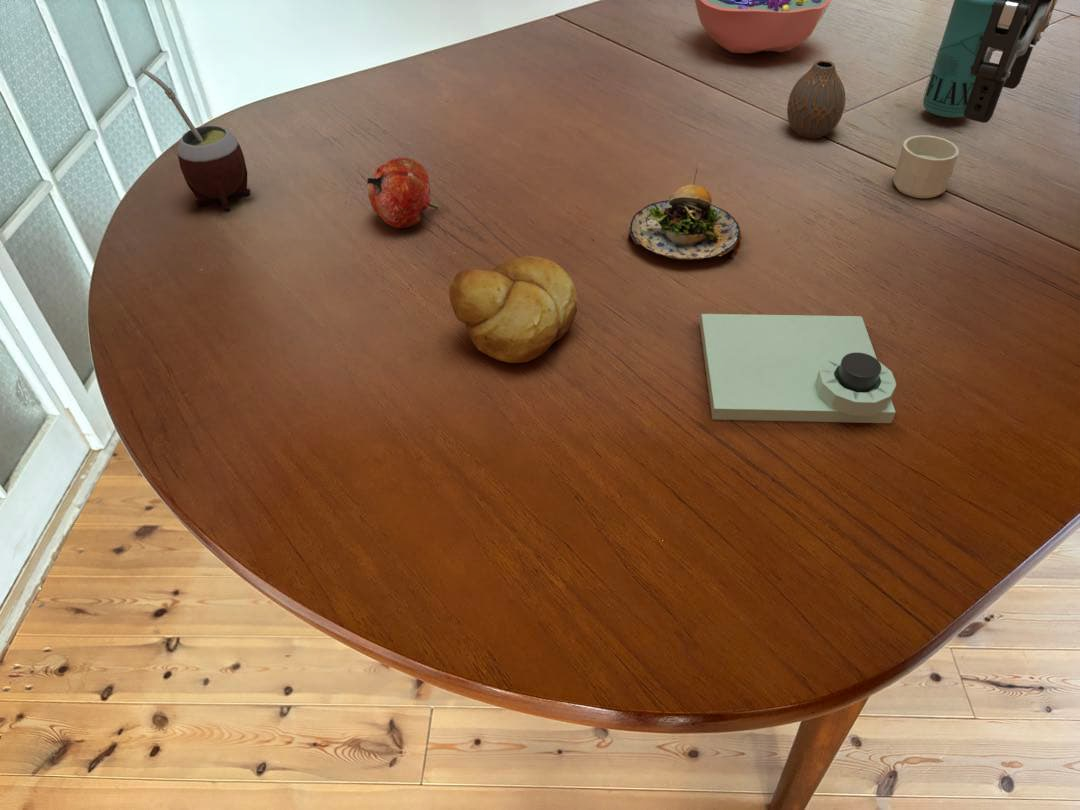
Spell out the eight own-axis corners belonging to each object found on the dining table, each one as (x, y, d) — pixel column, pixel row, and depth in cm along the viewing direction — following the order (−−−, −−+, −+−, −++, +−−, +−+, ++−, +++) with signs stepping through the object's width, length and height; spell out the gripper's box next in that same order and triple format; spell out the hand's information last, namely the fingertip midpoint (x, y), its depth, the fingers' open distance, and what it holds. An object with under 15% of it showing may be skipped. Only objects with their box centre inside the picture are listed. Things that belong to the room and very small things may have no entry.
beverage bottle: (908, 118, 113) (956, -47, 99) (934, 102, 116) (984, -60, 102) (954, 134, 109) (1011, -35, 95) (980, 117, 112) (1038, -48, 99)
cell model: (811, 80, 122) (828, -4, 114) (674, 62, 127) (681, -19, 120) (827, 36, 133) (843, -43, 125) (700, 22, 139) (708, -54, 131)
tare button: (871, 368, 73) (876, 352, 72) (880, 393, 71) (885, 377, 70) (833, 367, 74) (838, 351, 72) (841, 392, 71) (845, 377, 70)
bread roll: (535, 282, 88) (533, 214, 82) (609, 320, 83) (612, 250, 78) (443, 343, 81) (434, 273, 76) (518, 388, 76) (514, 317, 71)
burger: (606, 245, 93) (609, 183, 87) (669, 201, 99) (675, 140, 94) (700, 287, 87) (709, 222, 82) (760, 237, 93) (772, 174, 88)
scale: (858, 327, 82) (866, 302, 80) (893, 428, 72) (903, 402, 70) (699, 325, 82) (703, 299, 80) (712, 424, 73) (717, 399, 71)
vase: (804, 148, 107) (819, 79, 101) (772, 125, 112) (784, 58, 106) (849, 137, 109) (866, 68, 103) (815, 115, 114) (829, 48, 108)
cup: (937, 174, 102) (950, 135, 99) (951, 200, 98) (965, 160, 94) (886, 174, 102) (897, 135, 99) (898, 200, 98) (911, 159, 95)
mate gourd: (258, 206, 100) (223, 80, 90) (189, 221, 98) (144, 94, 87) (248, 177, 105) (214, 54, 95) (182, 191, 103) (139, 67, 92)
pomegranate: (413, 214, 102) (339, 185, 96) (445, 164, 99) (372, 130, 92) (432, 251, 98) (357, 223, 91) (467, 201, 95) (391, 168, 88)
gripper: (1096, -72, 60) (1011, 143, 72) (1137, -115, 68) (1055, 84, 80) (986, -88, 64) (922, 120, 75) (1037, -127, 72) (972, 66, 83)
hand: (991, 101), depth 77 cm, fingers open, 8 cm apart
